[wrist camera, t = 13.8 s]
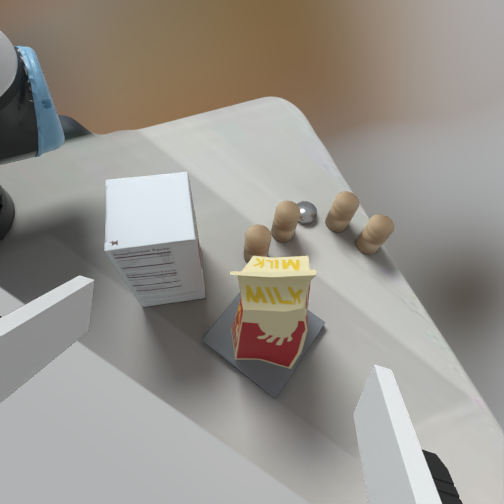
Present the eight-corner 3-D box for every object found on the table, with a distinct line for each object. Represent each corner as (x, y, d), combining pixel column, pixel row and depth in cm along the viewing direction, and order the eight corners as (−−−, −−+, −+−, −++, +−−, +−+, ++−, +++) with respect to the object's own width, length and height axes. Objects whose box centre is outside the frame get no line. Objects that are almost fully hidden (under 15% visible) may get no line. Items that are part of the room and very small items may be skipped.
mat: (202, 341, 47) (201, 339, 46) (254, 276, 52) (255, 273, 51) (275, 398, 44) (276, 397, 43) (323, 324, 49) (325, 322, 48)
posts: (245, 267, 52) (247, 248, 47) (239, 221, 56) (240, 199, 51) (381, 253, 55) (397, 234, 50) (366, 210, 59) (380, 188, 53)
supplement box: (207, 299, 50) (197, 242, 35) (141, 309, 49) (102, 254, 34) (199, 241, 54) (188, 168, 39) (138, 248, 53) (103, 177, 38)
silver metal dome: (290, 220, 57) (292, 215, 56) (296, 204, 59) (298, 198, 57) (311, 227, 57) (313, 222, 55) (317, 210, 58) (319, 205, 57)
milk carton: (300, 302, 49) (341, 230, 31) (293, 370, 45) (336, 330, 27) (236, 292, 49) (241, 213, 32) (224, 358, 45) (221, 310, 27)
